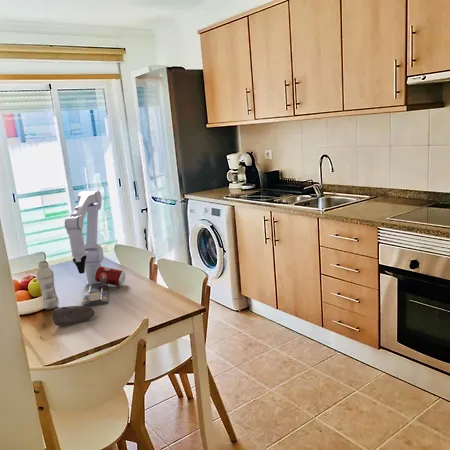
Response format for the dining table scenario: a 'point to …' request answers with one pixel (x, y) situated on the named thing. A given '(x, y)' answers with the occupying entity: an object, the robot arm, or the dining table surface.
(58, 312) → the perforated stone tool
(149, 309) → the dining table surface
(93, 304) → the fader panel
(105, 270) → the soda can
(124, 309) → the dining table surface
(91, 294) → the slider tab
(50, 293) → the plastic bottle
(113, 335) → the dining table surface
